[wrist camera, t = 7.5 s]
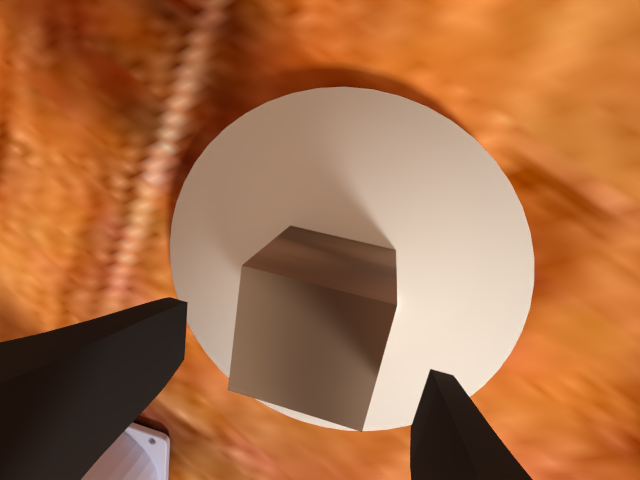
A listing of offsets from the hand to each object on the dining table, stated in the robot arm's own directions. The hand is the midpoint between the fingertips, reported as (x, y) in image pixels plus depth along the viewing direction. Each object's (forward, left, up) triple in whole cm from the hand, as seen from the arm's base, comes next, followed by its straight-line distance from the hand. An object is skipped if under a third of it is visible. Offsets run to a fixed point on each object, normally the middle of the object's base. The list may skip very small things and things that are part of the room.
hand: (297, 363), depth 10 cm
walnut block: (0, 0, -6) cm, 6 cm away
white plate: (0, 0, -7) cm, 7 cm away
